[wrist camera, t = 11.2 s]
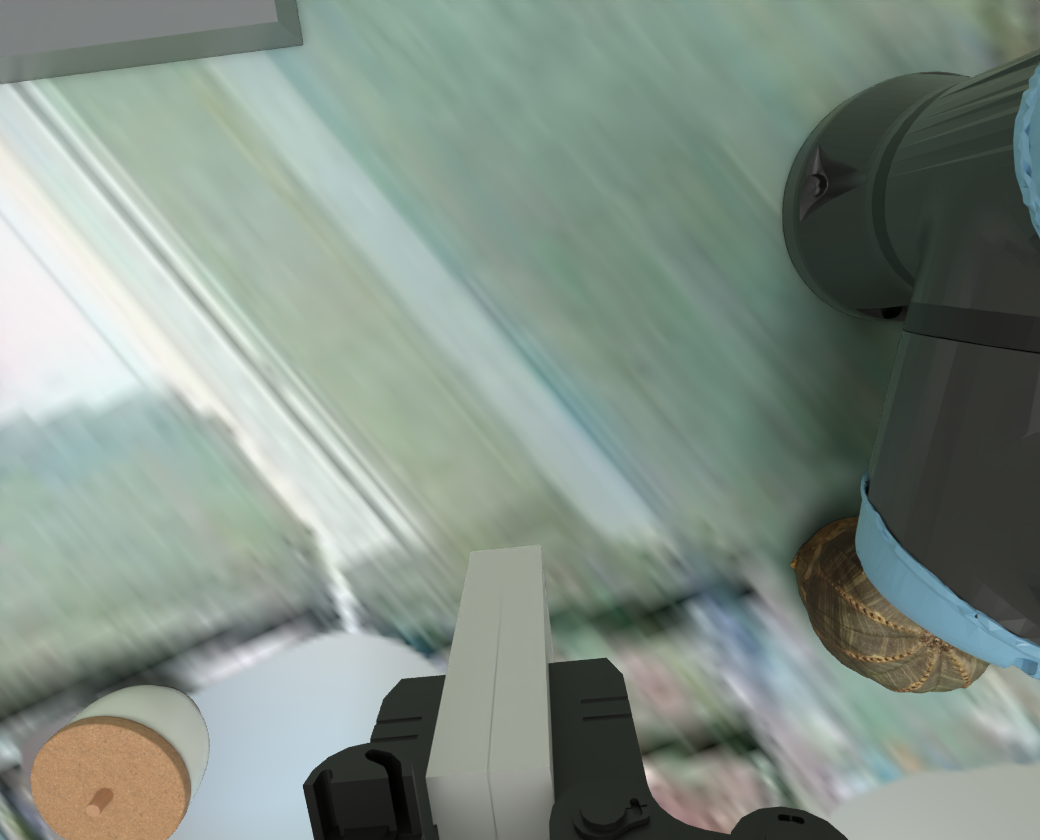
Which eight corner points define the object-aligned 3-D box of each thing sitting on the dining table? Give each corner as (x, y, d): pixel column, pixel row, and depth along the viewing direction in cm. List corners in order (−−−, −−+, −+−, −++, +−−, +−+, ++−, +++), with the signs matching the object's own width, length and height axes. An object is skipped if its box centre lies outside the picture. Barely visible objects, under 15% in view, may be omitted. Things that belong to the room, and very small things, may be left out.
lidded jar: (174, 800, 57) (106, 904, 48) (69, 717, 55) (-21, 808, 46) (259, 721, 55) (206, 813, 46) (154, 633, 54) (77, 711, 44)
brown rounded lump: (945, 499, 50) (1071, 572, 39) (904, 634, 53) (1010, 742, 41) (798, 477, 50) (880, 544, 38) (763, 614, 52) (830, 716, 41)
